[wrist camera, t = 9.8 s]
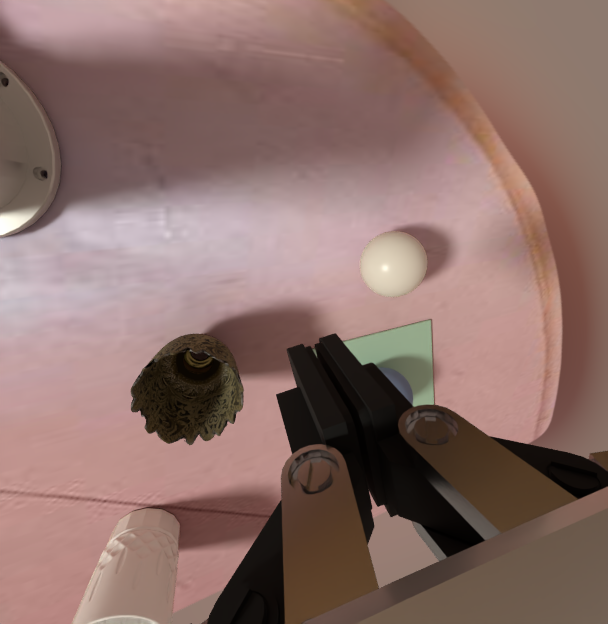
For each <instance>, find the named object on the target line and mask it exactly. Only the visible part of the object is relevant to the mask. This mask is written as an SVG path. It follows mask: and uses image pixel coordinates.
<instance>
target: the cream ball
mask: <svg viewBox="0 0 608 624" xmlns="http://www.w3.org/2000/svg"><path fill="white" fill-rule="evenodd" d="M427 264H428V262H427V255H426V252H425V250H424V248H423V246H422V244H421V243H420V242H419V241H418V240H417V239H416V238H414V237H413V236H411V235H409V234H407V233H404V232H399V231H391V232H386V233H383V234H380V235H378V236H377V237H375V238H374V239H372V240H371V241H370V242H369V243H368V244H367V246H366V247H365V248H364V250H363V252H362V255H361V259H360V272H361V276H362V279H363V281H364V282H365V284H366V285H367V286H368V287H369V288H370V289H371V290H372V291H373V292H375V293H377V294H379V295H381V296H385V297H400V296H403V295H406V294H408V293H410V292H412V291H413V290H414V289H416V288H417V287H418V286H419V285H420V283H421V282H422V280H423V279H424V277H425V274H426V271H427Z"/></svg>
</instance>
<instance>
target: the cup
mask: <svg viewBox="0 0 608 624" xmlns="http://www.w3.org/2000/svg"><path fill="white" fill-rule="evenodd" d="M191 352H194V353H196V354H198V353H201V352H202V353H205V354H206V355H208V358H206V359H205V360H196V359H194V358H193V357H192V355H191ZM243 392H244V390H243V386H242V383H241V380H240V376H239V372H238V368H237V365H236V362H235V360H234V357H233V355H232V353H231V352H230V351H229V349H228V348H227V347H226V346H225V345H224V344H223V343H222V342H221V341H219V340H218V339H216V338H214V337H211V336H208V335H204V334H188V335H184V336H181V337H178V338H176V339H174V340H173V341H171V342H169V343H168V344H167V345H165V346H164V347H163V348H162V349H161V350H160V351H159V352H158V353H157V354H156V355H155V356H154V358H153V359H152V360H151V361H150V362H149V363H148V365H147V366H146V367H144V368H143V369H142V372H141V373H140V375H139V376H138V378H137V379H136V381H135V382H134V384H133V386H132V388H131V395H132V397H133V400H132V403H131V411H132V412H138V411H139V409H140V411H141V416H142V417H145V419H146V425H145V429H146V431H147V432H148V433H149V434H150V433H154V432H155V431H156V433H157V435H158V437H159V438H160V439H162V440H163V441H164V442H166V443H168V444H170V443H173V442H176V441H178V440H180V439H183V438H184V439H186V442H187V444H189V445H192V444H193V443H194V441H195V440H196V438H197V436H198V435H199V434H200V437H201V438H202V439H203V440H204V441H209V440H211V439H212V438H213V437H214V435H215V434H217V435H218V436H220V435H221V433H222V432H223V430H224V428H225V427H226V426H227V422H228V421H229V422H230V423H232V424H234V422H235V418H236V413H237V412H240V410H241V409H242V408H243ZM184 441H185V440H184Z"/></svg>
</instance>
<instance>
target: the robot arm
mask: <svg viewBox="0 0 608 624" xmlns="http://www.w3.org/2000/svg"><path fill="white" fill-rule="evenodd" d="M6 81H9V84H8V86H6ZM45 171H47V173H48V177H47V178H46V177H45V176H44V172H45ZM60 173H61V159H60V150H59V145H58V142H57V138H56V135H55V132H54V128H53V126H52V124H51V122H50V120H49V118H48V116H47V114H46V112H45V110H44V108H43V107H42V105H41V104H40V102H39V101H38V99H37V98H36V97H35V95H34V94H33V92H32V91H31V89H30V88H29V87H28V86H27V85H26V84H25V83H24V82H23V81H22V80H21V79H20V78H19V77H18V76H17V74H16V73H15V72H14V71H12V70H11V69H10V68H9V67H8V66H6V65H5V64H4V63H3V62H1V61H0V238H1V237H6V236H9V235H12V234H15V233H18V232H20V231H22V230H24V229H25V228H27V227H29V226H31V225H32V224H34V223H35V222H36V221H37V220H38V219H39V218H40V217H41V216H42V215H43V214H44V213H45V212H46V211H47V210H48V208H49V206H50V205H51V203H52V202H53V200H54V198H55V195H56V192H57V189H58V186H59V183H60ZM319 342H320V343H318V344H315V350H316V354H317V356H316V355H315V353H314V351H313V350H312V348H311V346H308V347H304V345H303V344H300V345H297V346H294V347H291V348H288V349H287V353H288V356H289V360H290V364H291V367H292V371H293V374H294V378H295V381H296V385H297V388H294V389H291V390H288V391H285V392H282V393H279V394H276V396H277V400H278V404H279V407H280V411H281V414H282V418H283V422H284V425H285V429H286V433H287V436H288V440H289V444H290V447H291V451H292V455H291V456H290V458H289V459H288V460H287V461H286V463H285V465H284V467H283V469H282V474H281V501H280V503H279V504H278V506H277V507H276V509H275V510H274V512H273V514H272V515H271V517H270V518H269V520H268V521H267V523H266V525H265V526H264V528H263V529H262V531H261V532H260V534H259V535H258V537H257V539H256V540H255V542H254V543H253V545H252V546H251V548H250V550H249V551H248V553H247V554H246V556H245V557H244V559H243V560H242V562H241V564H240V565H239V567H238V568H237V570H236V571H235V573H234V575H233V576H232V578H231V579H230V581H229V582H228V584H227V585H226V587H225V589H224V591H223V592H222V594H221V595H220V596H219V598H218V600H217V601H216V603H215V605H214V608H213V609H212V611H211V613H210V615H209V618H208V619H207V620H205V621H204V622H202V623H201V624H608V451H603V452H595V453H590V455H589V459H586V458H584V457H581V456H578V455H575V454H571V453H568V452H563V451H558V450H553V449H548V448H543V447H539V446H534V445H529V444H524V443H519V442H515V441H510V440H505V439H500V438H495V437H490V436H488V435H486V434H485V433H484V432H482V431H481V430H479V429H478V428H477V427H475V426H474V425H472V424H471V423H469V422H468V421H467V420H465V419H464V418H462V417H461V416H460V415H458V414H457V413H455V412H453V411H452V410H450V409H448V408H445V407H442V406H438V405H429V404H426V405H418V406H415V407H414V406H413V405H412V404H411V403H410V402H409V401H408V400H407V399H406V398H405V396H404V395H403V394H402V393H401V392H400V391H399V390H398V389H397V388H396V387H395V386H394V384H393V383H392V382H391V381H390V380H389V379H388V378H387V377H386V376H385V375H384V374H383V373H382V371H381V370H380V369H379V368H378V367H377V366H376V365H375V364H374V363H368V364H365V365H362V364H361V363H360V362H359V361H358V359H357V358H356V357H355V356H354V355H353V354H352V352H351V351H350V350H349V349H348V348H347V346H346V345H345V344H344V343H343V342H342V340H341V339H340V338H339V337H338V336H337V334H332V335H329V336H325V337H322V338H319ZM368 489H369V490H368ZM369 491H370V493H371V495H372V497H373V499H374V501H375V503H376V505H377V506H378V507H379V506H381V505H385V507H386V509H387V511H388V513H389V515H390V517H393V516H395V515H399V516H400V517H403V518H405V519H408V520H411V521H412V523H413V526H414V528H415V529H416V531H417V533H418V534H419V536H420V537H421V538H422V540H423V541H424V542H425V543H426V545H427V546H428V547H429V549H430V550H431V551H432V553H433V554H434V555H435V556H436V558H437V559H438V560H439V562H437V563H434V564H432V565H430V566H428V567H426V568H423V569H421V570H419V571H417V572H414V573H412V574H410V575H408V576H405V577H403V578H401V579H399V580H396V581H394V582H392V583H390V584H388V585H385V586H383V587H381V588H379V586H378V583H377V579H376V575H375V571H374V567H373V564H372V560H371V556H370V552H369V548H368V542H369V540H370V537H371V534H372V531H373V528H374V522H373V517H372V512H371V509H372V504H371V499H370V494H369ZM191 624H192V623H191Z"/></svg>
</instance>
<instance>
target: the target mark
mask: <svg viewBox="0 0 608 624" xmlns="http://www.w3.org/2000/svg"><path fill="white" fill-rule="evenodd" d="M342 342H343V343H344V344H345V345H346V346H347V348H348V349H349V350H350V351H351V352H352V354H353V355H354V356H355V357H356V358H357V359H358V361H359V362H360V363H361V364H362V365H365V364H368V363H374V364H375V365H376V366H377V367H378V368H380V367H384V368H390V369H393V370H396V371H397V372H399V373H400V374H402V375H403V376H404V377H405V378H406V379H407V381H408V382H409V384H410V386H411V388H412V392H413V406H414V407H415V406H418V405H426V404H429V405H434V392H433V365H432V337H431V320H430V319H429V320H425V321H421V322H418V323H414V324H410V325H406V326H402V327H398V328H394V329H390V330H386V331H382V332H378V333H374V334H370V335H366V336H362V337H358V338H354V339H350V340H346V341H342ZM312 350H313V351H314V353H315V355H316V356H317V354H316V350H315V349H312Z"/></svg>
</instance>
